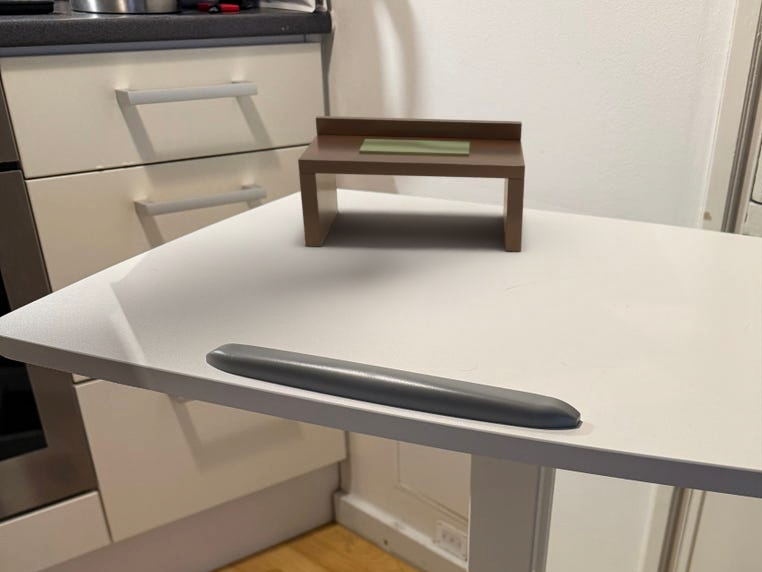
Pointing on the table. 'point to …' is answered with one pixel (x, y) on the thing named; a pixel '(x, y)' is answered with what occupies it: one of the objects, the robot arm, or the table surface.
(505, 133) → the shelf
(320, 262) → the table surface
